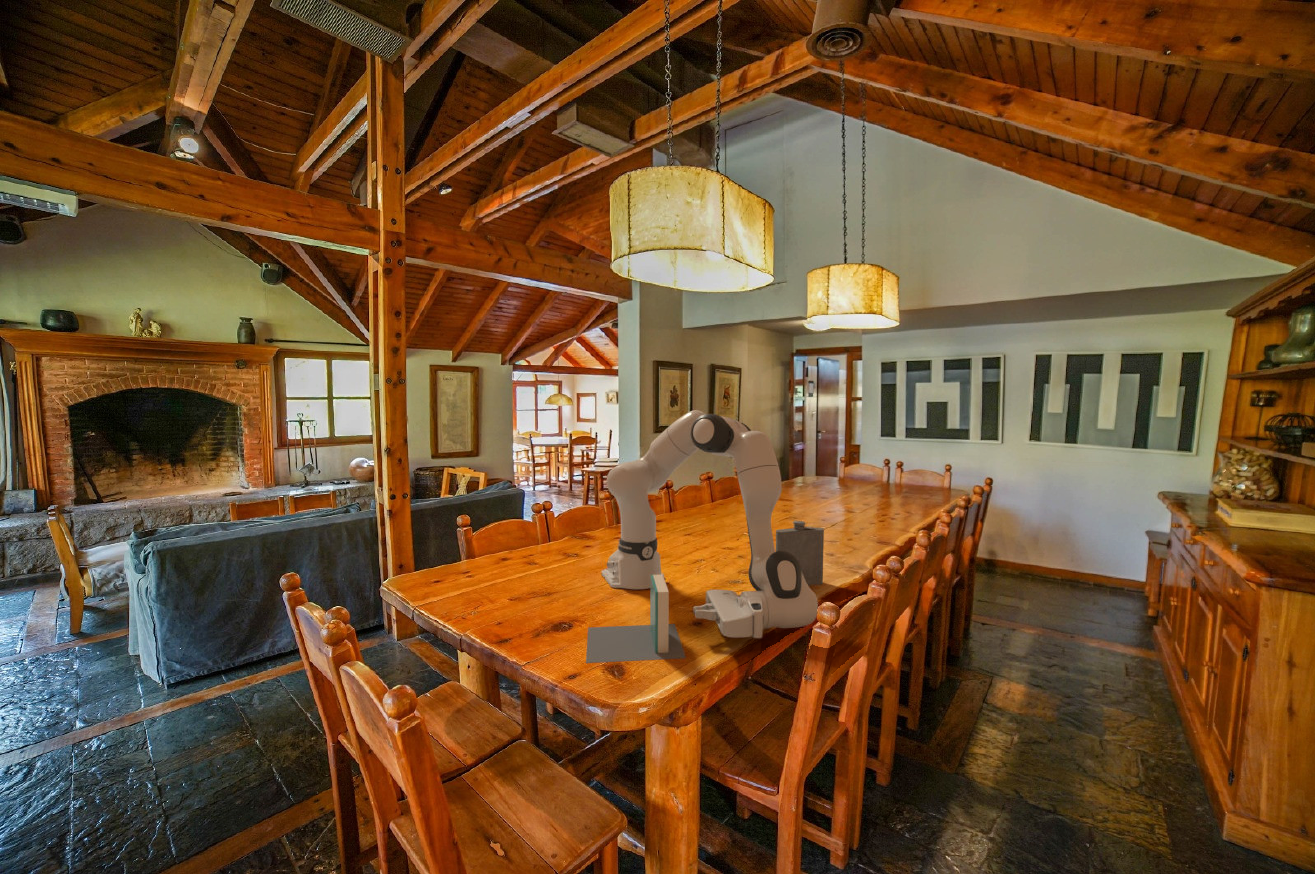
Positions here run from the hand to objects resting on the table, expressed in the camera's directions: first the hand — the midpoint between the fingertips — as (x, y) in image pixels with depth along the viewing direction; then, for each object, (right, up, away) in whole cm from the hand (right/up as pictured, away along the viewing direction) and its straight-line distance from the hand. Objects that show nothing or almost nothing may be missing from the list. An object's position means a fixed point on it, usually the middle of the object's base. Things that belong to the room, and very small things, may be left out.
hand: (694, 612), depth 123 cm
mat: (-14, -7, -1) cm, 16 cm away
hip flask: (+36, -5, +40) cm, 54 cm away
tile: (-9, -6, -1) cm, 11 cm away
